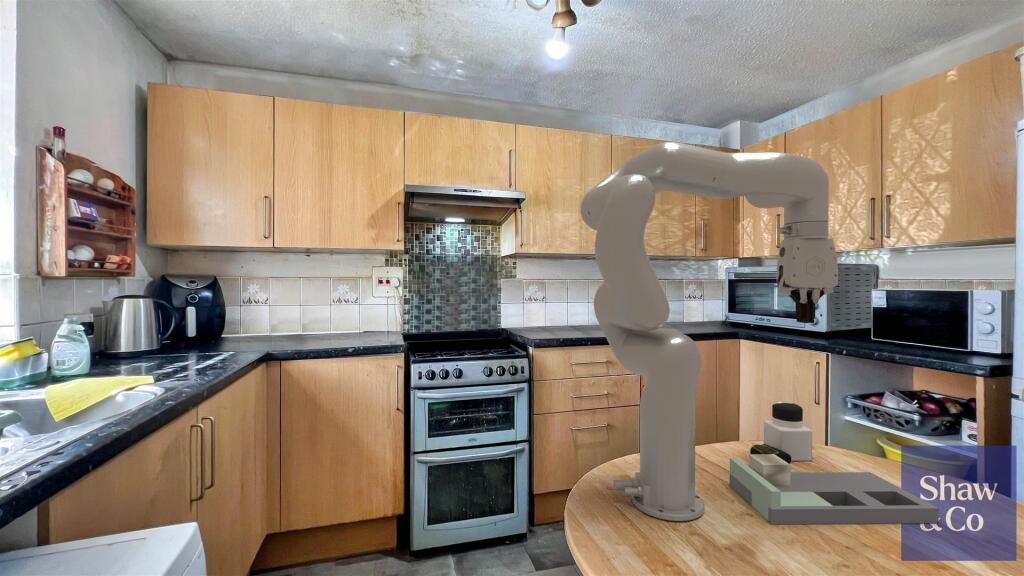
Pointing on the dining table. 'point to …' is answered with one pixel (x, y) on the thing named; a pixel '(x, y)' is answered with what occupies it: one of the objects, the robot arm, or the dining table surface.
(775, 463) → the block
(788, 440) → the medicine bottle
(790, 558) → the dining table surface
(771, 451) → the tape measure
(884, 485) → the grey green slotted tray
